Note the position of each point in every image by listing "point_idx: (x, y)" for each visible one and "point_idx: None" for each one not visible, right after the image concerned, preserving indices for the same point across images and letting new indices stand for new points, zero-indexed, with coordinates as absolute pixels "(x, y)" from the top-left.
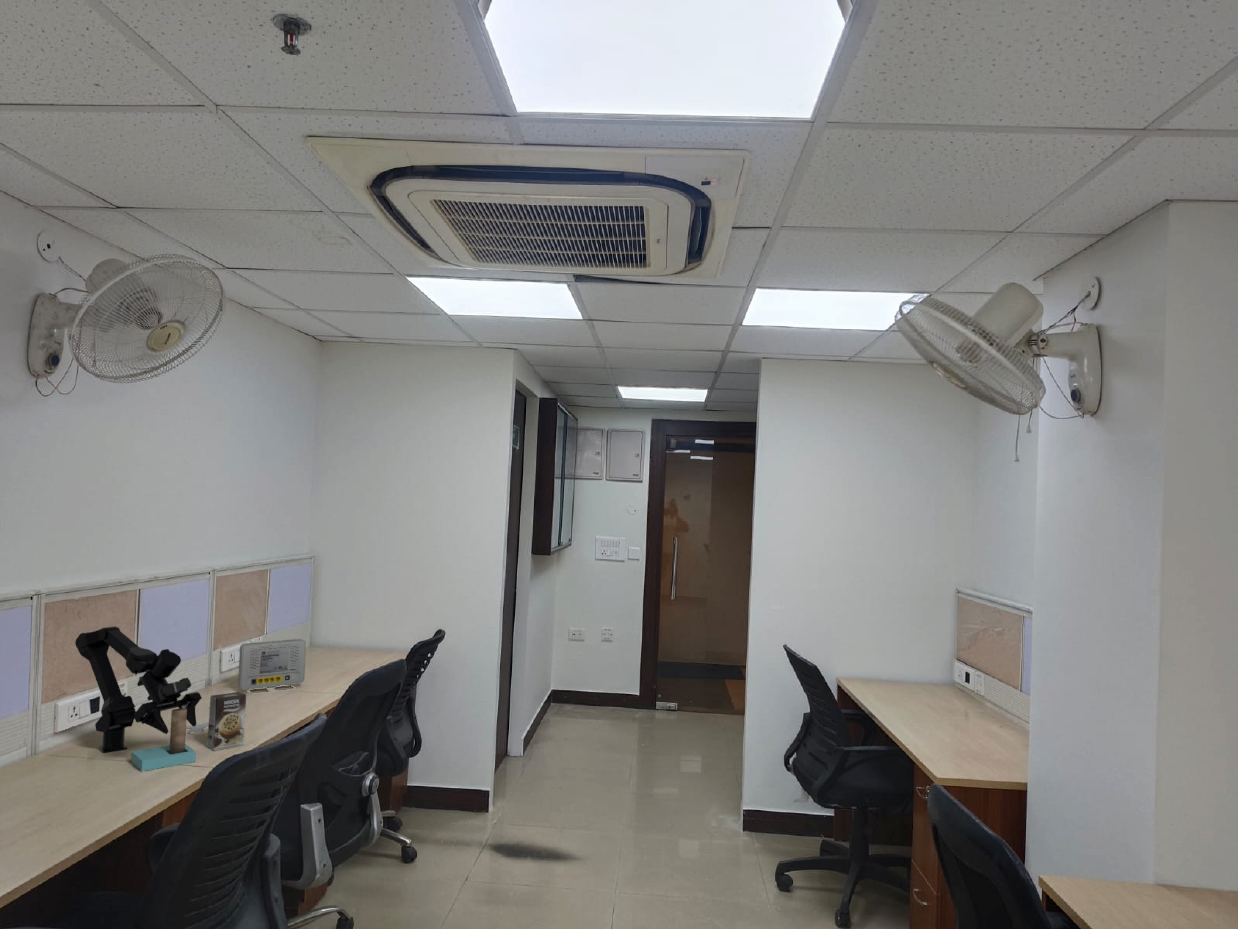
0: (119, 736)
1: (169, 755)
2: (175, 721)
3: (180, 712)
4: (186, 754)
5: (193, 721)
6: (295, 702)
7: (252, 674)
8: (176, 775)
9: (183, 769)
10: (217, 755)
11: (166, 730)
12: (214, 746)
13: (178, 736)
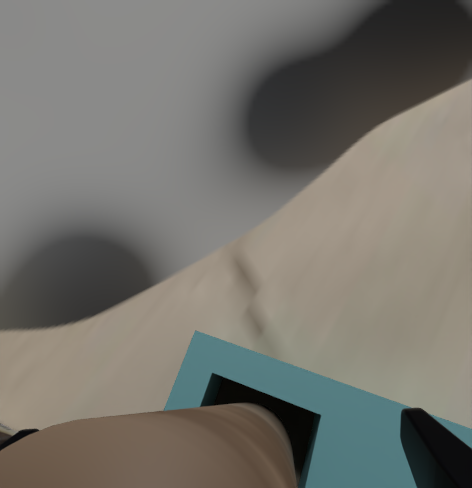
0: None
1: (333, 400)
2: (284, 482)
3: (192, 440)
4: (244, 348)
5: None
6: None
7: None
8: (375, 230)
9: (309, 282)
10: (86, 346)
11: (437, 423)
12: (6, 439)
13: (259, 415)
